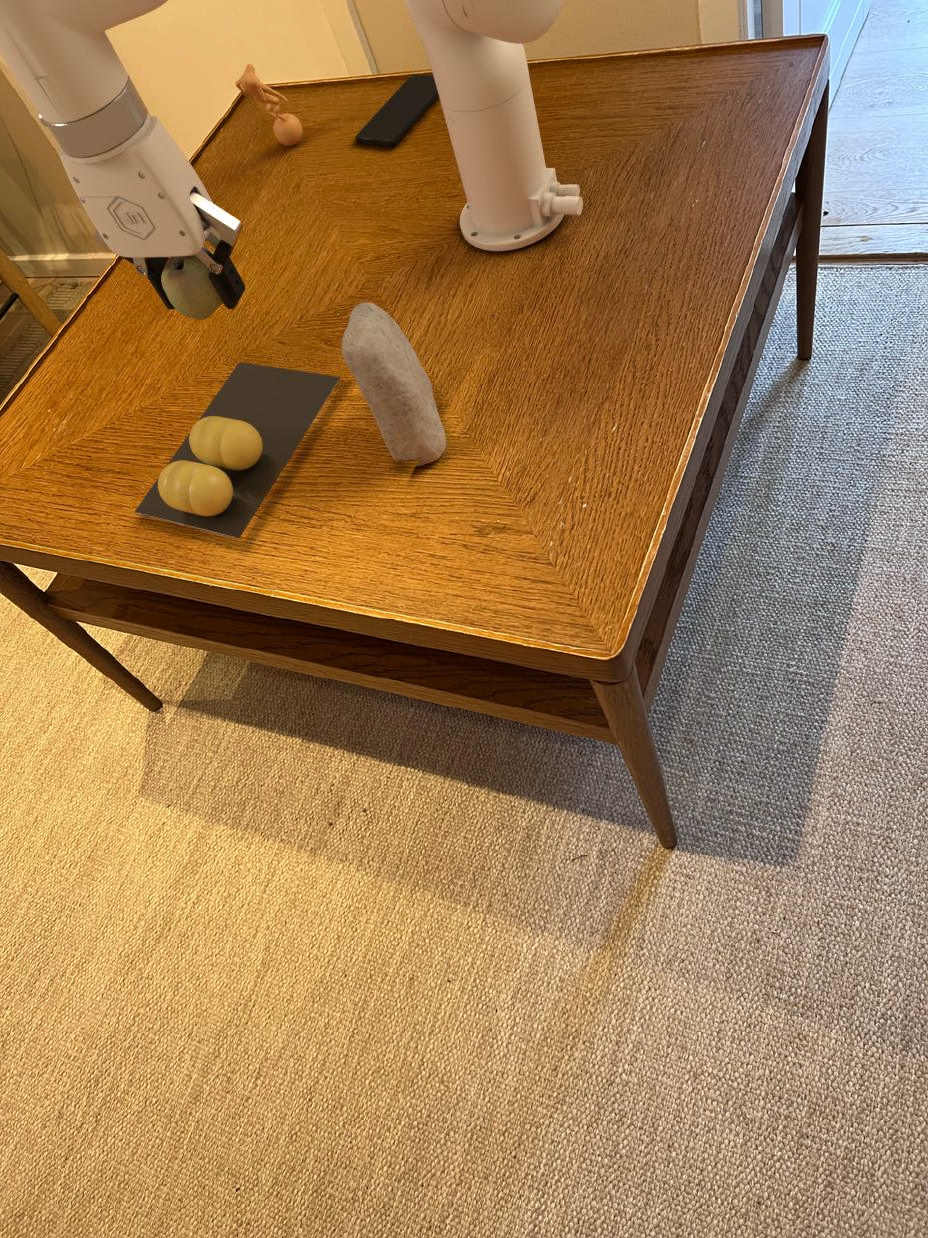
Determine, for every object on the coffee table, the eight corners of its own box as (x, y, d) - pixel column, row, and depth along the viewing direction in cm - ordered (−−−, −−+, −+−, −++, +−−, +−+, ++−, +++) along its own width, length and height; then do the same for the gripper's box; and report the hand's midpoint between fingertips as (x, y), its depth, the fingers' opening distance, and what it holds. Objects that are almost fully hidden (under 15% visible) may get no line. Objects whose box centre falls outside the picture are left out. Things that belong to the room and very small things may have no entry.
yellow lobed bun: (279, 447, 94) (258, 413, 90) (255, 484, 92) (232, 451, 88) (219, 435, 97) (196, 402, 93) (195, 471, 95) (171, 438, 91)
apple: (259, 277, 88) (231, 224, 83) (216, 334, 85) (185, 283, 80) (212, 271, 91) (182, 220, 86) (169, 327, 88) (135, 277, 83)
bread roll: (250, 491, 92) (227, 459, 87) (225, 530, 90) (201, 499, 85) (190, 478, 95) (165, 446, 91) (164, 515, 93) (138, 484, 89)
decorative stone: (387, 398, 96) (336, 283, 84) (441, 384, 95) (398, 265, 83) (391, 475, 90) (337, 363, 78) (449, 461, 89) (404, 345, 77)
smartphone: (352, 137, 123) (411, 73, 128) (354, 143, 124) (413, 79, 129) (392, 142, 120) (451, 76, 125) (394, 148, 121) (452, 82, 126)
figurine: (323, 138, 127) (288, 49, 117) (297, 164, 125) (259, 77, 115) (281, 130, 131) (244, 44, 121) (255, 156, 129) (216, 70, 119)
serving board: (345, 386, 99) (341, 376, 97) (245, 547, 90) (238, 538, 89) (245, 371, 104) (239, 361, 103) (141, 520, 96) (133, 512, 94)
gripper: (-6, 154, 73) (118, 326, 88) (166, 139, 67) (269, 327, 82) (39, 99, 77) (151, 273, 92) (207, 80, 71) (299, 271, 86)
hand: (206, 297), depth 87 cm, fingers closed on apple, 6 cm apart
